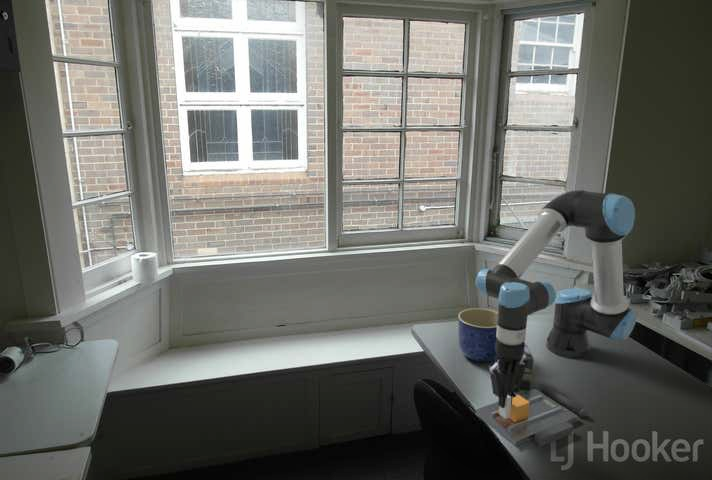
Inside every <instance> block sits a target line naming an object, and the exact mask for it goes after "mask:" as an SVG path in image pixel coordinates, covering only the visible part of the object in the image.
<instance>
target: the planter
mask: <svg viewBox="0 0 712 480" xmlns="http://www.w3.org/2000/svg"><path fill="white" fill-rule="evenodd" d="M457 318H458V319H457V321H458V322H457V323H458V324H457V325H458V345H459V349H460V350H461V353H462V354H463V355H464V356H465V357H466V358H468V359H469V360H472V361H474V362H480V363H481V362H482V363H486V362H490V361H493V360H494V361H495V359H496V357H497V353H496V351H495V345H496V338H497V337H496V331H497V320H498V311H495V310H492V309H487V308H482V307H481V308H478V307H476V308H468V309H467V308H466V309H464V310H461V311H460V312H459V313H458V317H457Z"/></svg>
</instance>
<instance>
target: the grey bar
mask: <svg viewBox="0 0 712 480" xmlns="http://www.w3.org/2000/svg"><path fill="white" fill-rule="evenodd" d="M573 430H574V425H573V424H572V423H571V424H570V423H568V422H567V421H565V422H563V423H560V424H558V425H555V426H553V427H550V428H548V429H546V430H543V431H541V432H538V433H536V434H535V439H533V440H534V443H536V445H539V447H544V446H546V445H549V444H552V443H553V442H555V441H558V440H560V439H562V438H565V437H567V436H569V435H572V434H573Z"/></svg>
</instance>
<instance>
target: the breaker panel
mask: <svg viewBox="0 0 712 480" xmlns="http://www.w3.org/2000/svg"><path fill="white" fill-rule="evenodd" d="M518 395H520V396H521V397H523V398H524V399H526V400H527V401H528V402H530V405H529V416H528V418H526V419H524V420H521V421H519V422H516V423H515V422H514V421H512V420H511V419H510V418H507V419H505V418H504V417H502V416H501V415H500V414H499V405H498V403H499V401H496V402H494V403H490V404H488V405H484V406H482V407H478V408H476V409H475V416H477V417H478V418H480V419H481V420H482V421H483V422H484V423H486V424H487V425H488V426H489V427H490V428H492V429H493V430H494V429H495V432H497V433H498V432H499V433H500V436H502V437H503V438H504V439H506V440H507V441H508V442H509V443H511V444H512V445H513V446H514V447H518V446H520V445H523V444H525V443H528V442H529V441H532V440H534V439H535V434H536V433H538V432H541V431H543V430H546V429H548V428H550V427H553V426H555V425H558V424H560V423H563V422H565V421H567V422H568V423H570V424H571V425H572V424H573V423H575V422H578V420H579V415H578V414H576V413H574V412H573V411H571V410H570V409H568V408H566V407H565V406H563V405H562V404H560V403H559V402H557V401H555V400H554V399H552V398H551V397H549V396H548V395H546V394H544V393H543V392H542V391H540V390H538V389H536V388H534V389H530V390H527V391H525V392H521V393H519V394H518ZM499 433H498V434H499Z"/></svg>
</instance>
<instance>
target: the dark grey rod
mask: <svg viewBox="0 0 712 480" xmlns="http://www.w3.org/2000/svg"><path fill="white" fill-rule="evenodd" d="M541 393H543V394H544V395H546V396H547V397H549V398H550V399H552V400H554V401H555V402H557V403H558V404H560V405H561V406H563V407H565V408H566V409H568V410H569V411H571V412H572V413H574V414H576V415H577V416H578V417H581V418H585V417H586V416H587V413H588V412H587V410H586V409H585V408H583V407H582V406H580V405H578V403H576V402H574V401H572V400H570V399H569V398H567V397H565V396H563V395H562V394H561V393H558V392H557V391H556V390H554V389H553V388H551V387H549V386H547V385H543V386H542V388H541Z"/></svg>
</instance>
